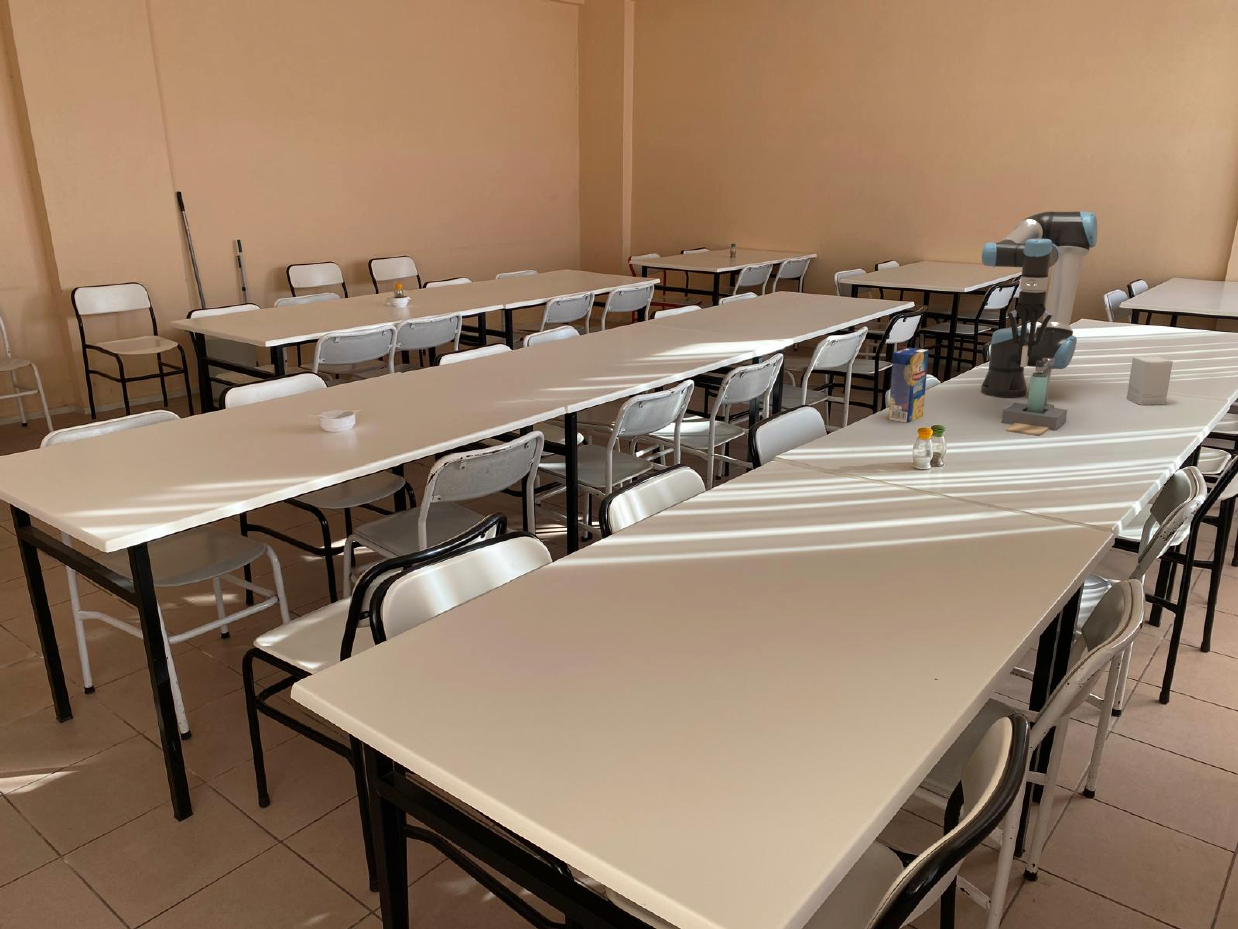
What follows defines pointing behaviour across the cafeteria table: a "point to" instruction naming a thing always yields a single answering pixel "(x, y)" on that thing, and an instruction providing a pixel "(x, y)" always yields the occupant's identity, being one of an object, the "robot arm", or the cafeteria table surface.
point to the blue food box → (908, 384)
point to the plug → (1037, 392)
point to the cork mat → (1027, 429)
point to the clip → (1044, 364)
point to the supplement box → (1149, 380)
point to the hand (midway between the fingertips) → (1023, 366)
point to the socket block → (1047, 419)
